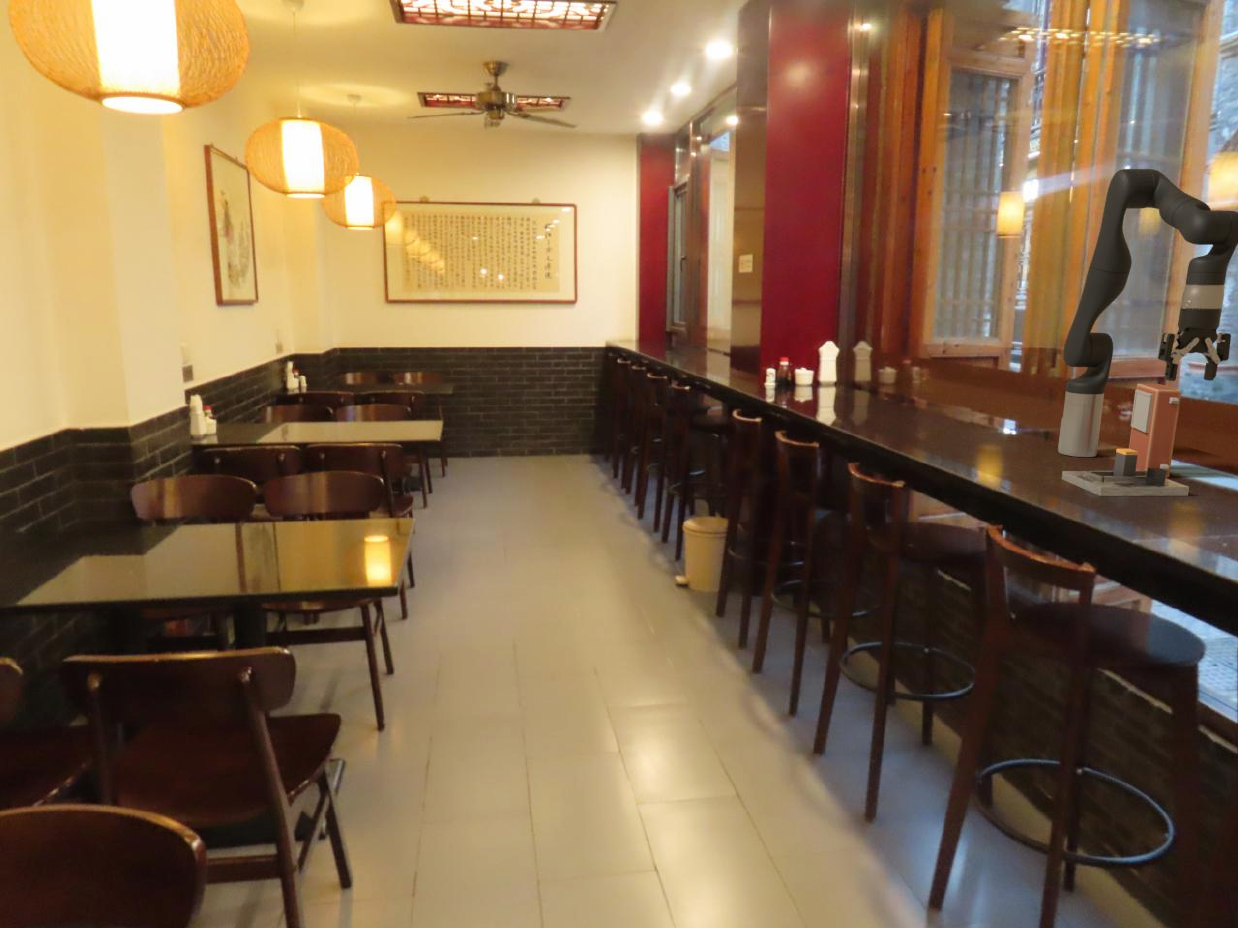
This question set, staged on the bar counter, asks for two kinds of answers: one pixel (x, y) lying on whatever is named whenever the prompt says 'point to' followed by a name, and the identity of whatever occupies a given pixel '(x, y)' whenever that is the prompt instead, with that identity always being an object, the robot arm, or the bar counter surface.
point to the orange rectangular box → (1154, 425)
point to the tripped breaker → (1125, 462)
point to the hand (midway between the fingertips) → (1189, 380)
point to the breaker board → (1126, 483)
